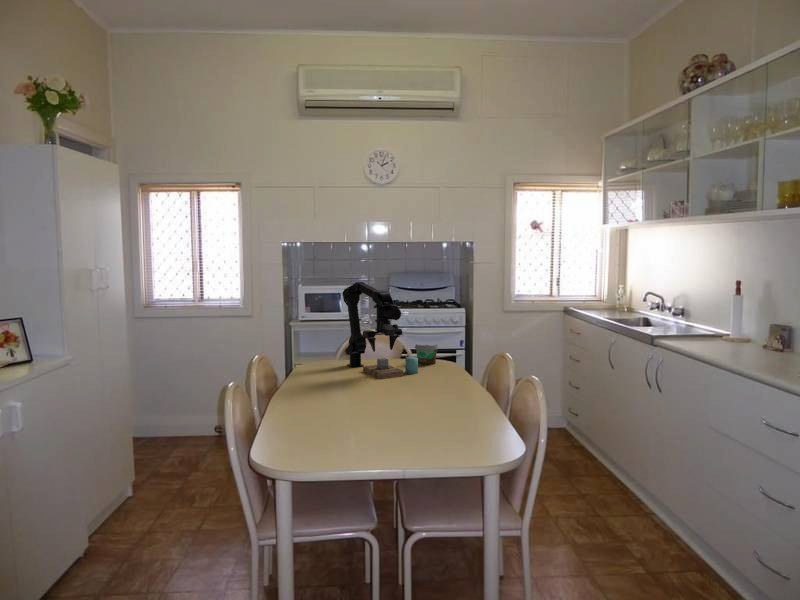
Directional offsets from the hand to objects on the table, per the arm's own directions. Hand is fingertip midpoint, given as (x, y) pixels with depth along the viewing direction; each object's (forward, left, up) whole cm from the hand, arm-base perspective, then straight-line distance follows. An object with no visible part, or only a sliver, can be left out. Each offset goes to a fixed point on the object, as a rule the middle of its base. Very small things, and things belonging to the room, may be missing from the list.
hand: (382, 350), depth 268 cm
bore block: (0, 0, -11) cm, 11 cm away
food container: (-8, +29, -11) cm, 32 cm away
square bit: (0, 0, -11) cm, 11 cm away
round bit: (+5, +13, -11) cm, 18 cm away
